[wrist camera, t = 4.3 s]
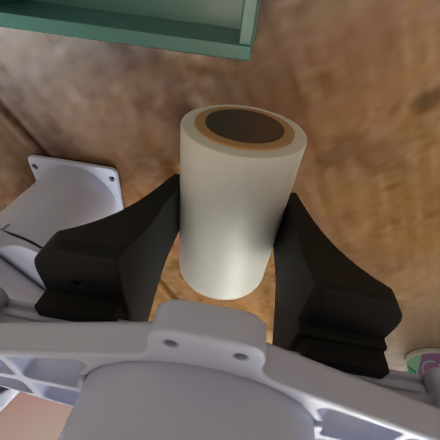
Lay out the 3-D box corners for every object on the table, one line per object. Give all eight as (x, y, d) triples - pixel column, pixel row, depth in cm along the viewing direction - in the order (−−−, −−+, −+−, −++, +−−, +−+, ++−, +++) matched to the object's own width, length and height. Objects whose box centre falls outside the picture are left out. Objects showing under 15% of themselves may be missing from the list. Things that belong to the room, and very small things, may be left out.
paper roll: (254, 314, 14) (164, 284, 14) (269, 247, 17) (196, 226, 18) (304, 168, 8) (157, 134, 9) (311, 115, 12) (205, 93, 13)
